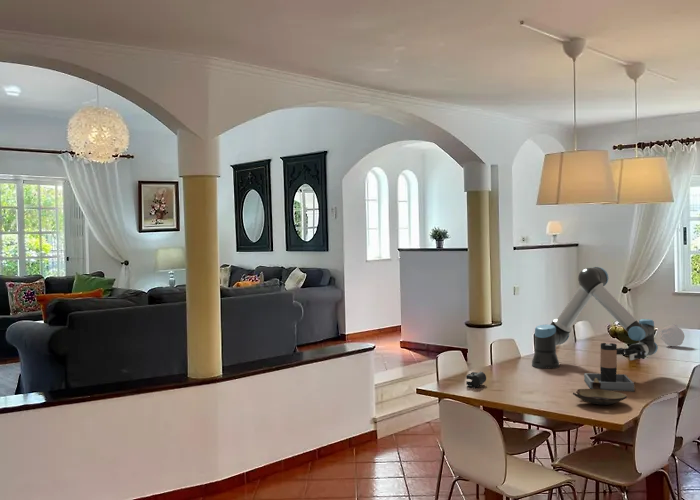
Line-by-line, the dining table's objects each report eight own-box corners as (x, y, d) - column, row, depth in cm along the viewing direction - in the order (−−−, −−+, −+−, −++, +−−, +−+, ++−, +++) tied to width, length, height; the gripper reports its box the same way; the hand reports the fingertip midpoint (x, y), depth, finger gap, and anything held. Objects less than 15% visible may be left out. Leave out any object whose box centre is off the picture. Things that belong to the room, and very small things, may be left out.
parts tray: (590, 389, 314) (590, 381, 314) (584, 380, 333) (584, 373, 333) (634, 391, 310) (634, 383, 310) (625, 382, 329) (625, 374, 329)
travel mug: (609, 386, 316) (609, 345, 316) (596, 383, 323) (597, 343, 323) (620, 384, 320) (620, 344, 320) (607, 381, 327) (607, 342, 326)
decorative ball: (656, 346, 430) (656, 324, 430) (664, 344, 439) (664, 322, 439) (680, 349, 419) (680, 326, 419) (687, 346, 428) (687, 324, 428)
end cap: (479, 389, 319) (479, 375, 318) (466, 387, 322) (465, 374, 322) (486, 385, 327) (486, 372, 327) (473, 383, 331) (473, 370, 331)
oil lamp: (566, 406, 286) (565, 388, 285) (586, 392, 310) (586, 376, 309) (618, 413, 272) (618, 395, 272) (635, 398, 296) (635, 382, 296)
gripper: (661, 361, 331) (641, 366, 317) (615, 354, 350) (594, 359, 337) (661, 346, 331) (641, 351, 317) (615, 340, 350) (594, 345, 337)
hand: (617, 355), depth 327 cm, fingers open, 13 cm apart
